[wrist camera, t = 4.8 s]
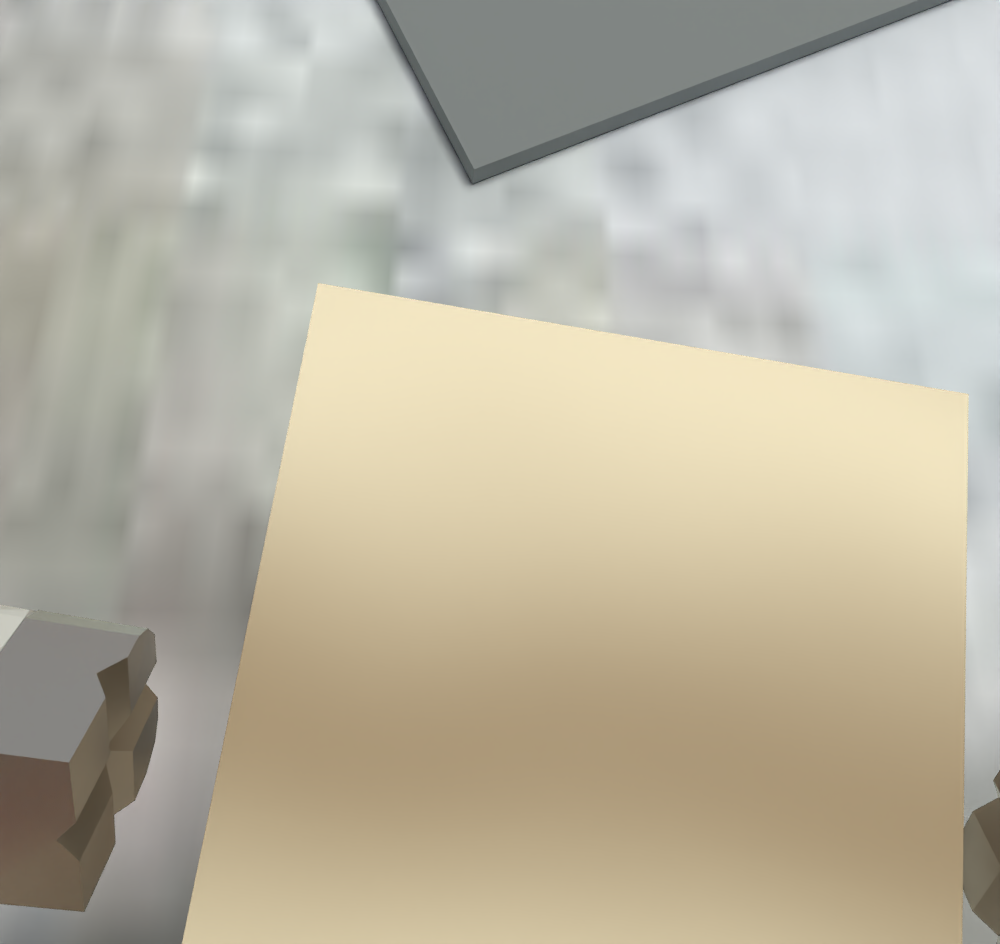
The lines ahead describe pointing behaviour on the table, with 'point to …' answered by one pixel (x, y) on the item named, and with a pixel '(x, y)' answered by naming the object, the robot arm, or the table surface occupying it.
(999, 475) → the table surface
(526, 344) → the stool
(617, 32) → the mat
